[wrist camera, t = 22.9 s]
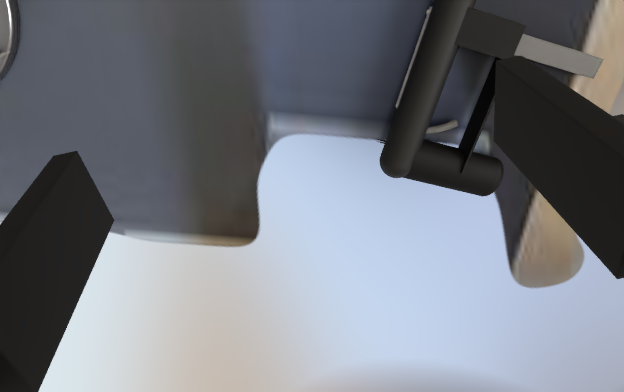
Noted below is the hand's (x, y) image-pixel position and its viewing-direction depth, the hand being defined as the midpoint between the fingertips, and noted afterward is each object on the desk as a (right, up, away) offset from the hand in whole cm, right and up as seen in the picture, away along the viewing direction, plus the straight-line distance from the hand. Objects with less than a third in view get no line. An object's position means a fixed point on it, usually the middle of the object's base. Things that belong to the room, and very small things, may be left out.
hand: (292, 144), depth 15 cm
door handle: (+16, +8, +26) cm, 31 cm away
